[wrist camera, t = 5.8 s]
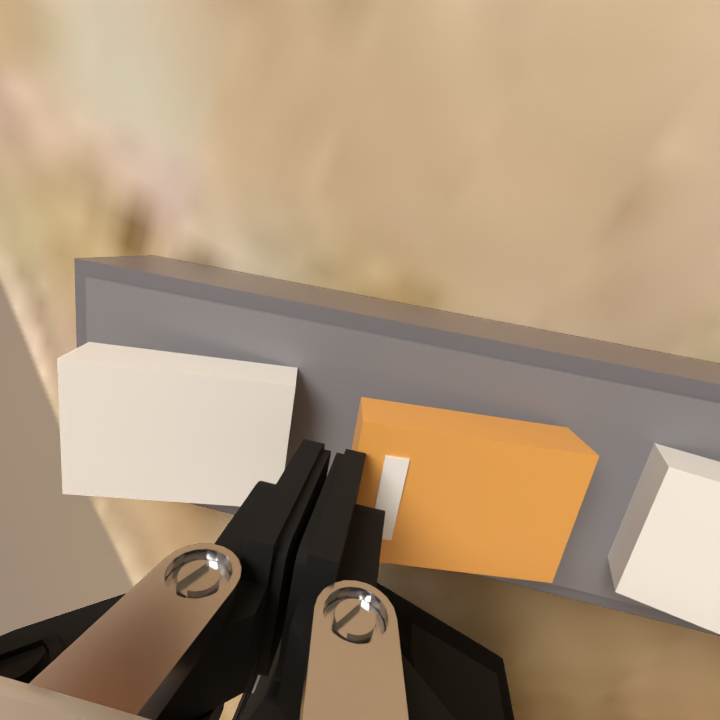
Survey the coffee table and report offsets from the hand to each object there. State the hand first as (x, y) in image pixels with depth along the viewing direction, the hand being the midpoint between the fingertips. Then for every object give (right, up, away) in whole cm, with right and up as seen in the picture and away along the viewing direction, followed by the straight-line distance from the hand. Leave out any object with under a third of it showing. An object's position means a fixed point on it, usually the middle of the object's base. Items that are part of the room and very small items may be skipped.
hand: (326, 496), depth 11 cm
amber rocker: (+4, 0, +1) cm, 4 cm away
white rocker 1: (-4, +2, +2) cm, 5 cm away
